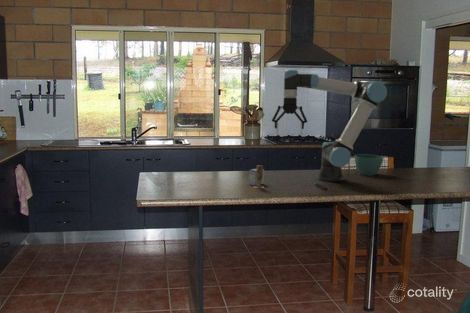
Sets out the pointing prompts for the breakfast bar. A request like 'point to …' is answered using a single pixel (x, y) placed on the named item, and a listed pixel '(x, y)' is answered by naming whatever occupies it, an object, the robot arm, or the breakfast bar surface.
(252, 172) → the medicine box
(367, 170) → the plant pot
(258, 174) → the awl
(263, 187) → the joist mark
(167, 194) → the breakfast bar surface
